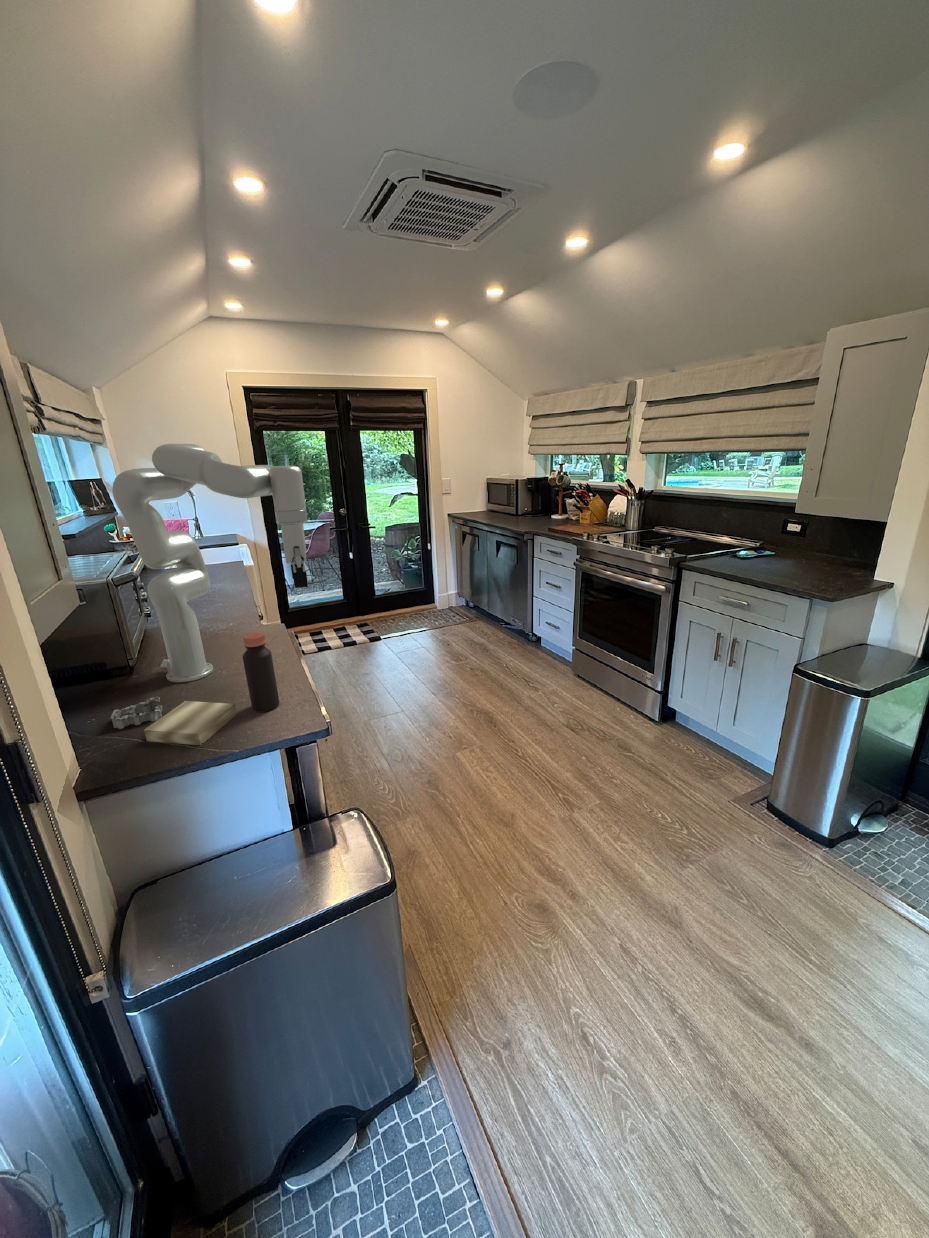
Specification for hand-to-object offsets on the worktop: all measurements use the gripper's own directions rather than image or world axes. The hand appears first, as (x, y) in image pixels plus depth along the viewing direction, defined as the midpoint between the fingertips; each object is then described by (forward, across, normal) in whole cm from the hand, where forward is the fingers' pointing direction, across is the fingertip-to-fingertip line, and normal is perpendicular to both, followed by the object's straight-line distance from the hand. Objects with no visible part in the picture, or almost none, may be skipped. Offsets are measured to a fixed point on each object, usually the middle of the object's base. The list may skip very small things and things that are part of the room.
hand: (300, 582), depth 129 cm
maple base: (+31, +10, -29) cm, 44 cm away
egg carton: (+31, 0, -43) cm, 53 cm away
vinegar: (+31, +7, -13) cm, 34 cm away
